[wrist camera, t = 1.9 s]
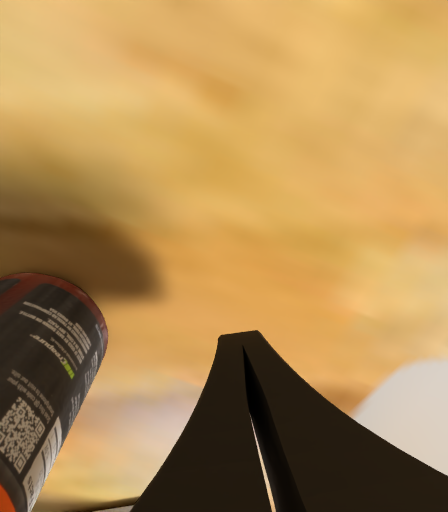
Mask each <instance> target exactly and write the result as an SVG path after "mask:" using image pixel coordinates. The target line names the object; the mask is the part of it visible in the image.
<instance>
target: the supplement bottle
mask: <svg viewBox="0 0 448 512" xmlns="http://www.w3.org/2000/svg"><path fill="white" fill-rule="evenodd" d="M107 343H108V330H107V326H106V323H105V320H104V317H103V315H102V313H101V311H100V310H99V308H98V307H97V305H96V304H95V302H94V301H93V300H92V299H91V298H90V297H89V296H88V295H87V294H86V293H85V292H83V291H82V290H81V289H80V288H78V287H77V286H75V285H73V284H71V283H69V282H67V281H65V280H62V279H60V278H57V277H53V276H49V275H44V274H39V273H18V274H12V275H8V276H5V277H1V278H0V512H31V510H32V508H33V506H34V504H35V502H36V500H37V497H38V495H39V493H40V491H41V489H42V487H43V485H44V483H45V481H46V479H47V476H48V474H49V472H50V470H51V468H52V466H53V464H54V462H55V460H56V458H57V456H58V453H59V451H60V449H61V447H62V445H63V443H64V441H65V439H66V437H67V434H68V432H69V430H70V428H71V426H72V424H73V422H74V420H75V417H76V416H77V414H78V412H79V410H80V407H81V405H82V403H83V401H84V399H85V397H86V395H87V393H88V391H89V389H90V386H91V384H92V382H93V380H94V378H95V376H96V374H97V372H98V369H99V367H100V365H101V362H102V360H103V358H104V356H105V353H106V349H107Z"/></svg>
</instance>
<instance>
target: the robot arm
mask: <svg viewBox="0 0 448 512" xmlns="http://www.w3.org/2000/svg"><path fill="white" fill-rule="evenodd" d="M250 416H251V417H250ZM251 419H252V422H251ZM252 423H253V426H254V430H255V434H256V437H257V441H258V444H259V448H260V452H261V455H262V459H263V462H264V466H265V470H266V473H267V477H268V480H269V484H270V488H271V492H272V496H273V500H274V504H275V509H276V512H448V476H447V475H445V474H443V473H441V472H439V471H437V470H435V469H434V468H432V467H430V466H428V465H426V464H425V463H423V462H421V461H419V460H418V459H416V458H414V457H412V456H411V455H409V454H407V453H405V452H403V451H402V450H400V449H398V448H397V447H395V446H393V445H392V444H390V443H389V442H387V441H386V440H384V439H382V438H381V437H379V436H378V435H376V434H374V433H373V432H372V431H370V430H368V429H367V428H365V427H364V426H362V425H360V424H359V423H357V422H356V421H355V420H353V419H352V418H351V417H349V416H348V415H346V414H345V413H344V412H342V411H341V410H340V409H338V408H337V407H336V406H334V405H333V404H332V403H331V402H329V401H328V400H327V399H326V398H324V397H323V396H322V395H321V394H319V393H318V392H317V391H316V390H315V389H314V388H312V387H311V386H310V385H309V384H308V383H307V382H306V381H305V380H304V379H302V378H301V377H300V376H299V375H298V374H297V373H296V372H295V371H294V370H293V369H292V368H291V367H290V366H289V365H288V364H287V363H286V362H285V361H284V360H283V359H282V358H281V357H280V356H279V354H278V353H277V352H276V351H275V350H274V349H273V348H272V347H271V345H270V344H269V343H268V342H267V341H266V339H265V338H264V337H263V335H262V334H261V333H260V332H259V331H258V330H255V331H247V332H240V333H233V334H225V335H221V336H220V337H219V338H218V345H217V350H216V354H215V358H214V361H213V365H212V367H211V370H210V373H209V376H208V379H207V382H206V384H205V386H204V389H203V391H202V393H201V396H200V398H199V400H198V403H197V405H196V407H195V409H194V411H193V413H192V415H191V417H190V419H189V421H188V423H187V425H186V426H185V428H184V430H183V432H182V434H181V435H180V437H179V439H178V440H177V442H176V444H175V445H174V447H173V449H172V450H171V452H170V454H169V455H168V457H167V459H166V460H165V462H164V463H163V465H162V466H161V468H160V469H159V471H158V472H157V474H156V475H155V477H154V478H153V480H152V481H151V482H150V484H149V485H148V487H147V488H146V489H145V491H144V492H143V493H142V495H141V496H140V498H139V499H138V500H137V502H136V503H135V505H132V506H125V507H119V508H113V509H106V510H100V511H94V512H272V510H271V505H270V501H269V497H268V493H267V488H266V484H265V480H264V475H263V471H262V467H261V462H260V458H259V454H258V449H257V445H256V440H255V436H254V431H253V426H252Z"/></svg>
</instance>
